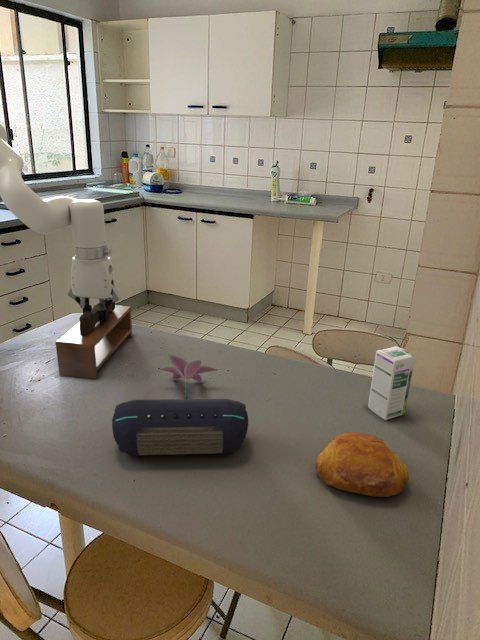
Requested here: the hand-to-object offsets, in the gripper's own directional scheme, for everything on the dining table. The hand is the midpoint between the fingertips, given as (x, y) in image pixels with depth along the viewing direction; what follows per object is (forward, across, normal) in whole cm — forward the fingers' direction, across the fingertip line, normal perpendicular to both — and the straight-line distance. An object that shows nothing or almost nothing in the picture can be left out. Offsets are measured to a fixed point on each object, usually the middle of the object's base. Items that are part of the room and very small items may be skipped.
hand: (96, 321), depth 119 cm
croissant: (+9, -64, +36) cm, 74 cm away
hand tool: (0, -1, 0) cm, 1 cm away
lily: (+9, -27, +13) cm, 32 cm away
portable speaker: (+9, -31, +35) cm, 47 cm away
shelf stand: (+9, 0, 0) cm, 9 cm away
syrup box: (+9, -72, +14) cm, 74 cm away
